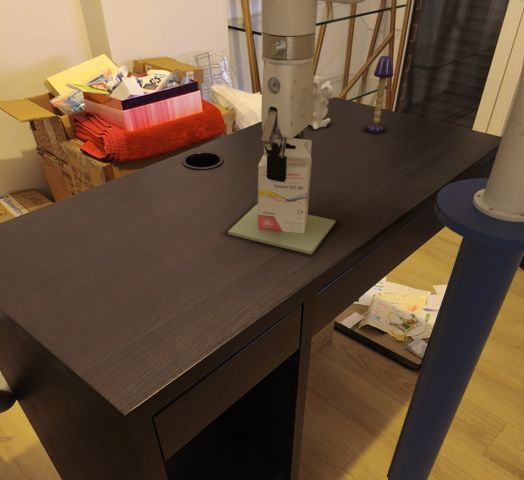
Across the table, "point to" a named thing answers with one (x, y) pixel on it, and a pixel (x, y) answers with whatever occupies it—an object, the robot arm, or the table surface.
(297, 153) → the ink cartridge box
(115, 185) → the table surface
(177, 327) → the table surface
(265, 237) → the mat
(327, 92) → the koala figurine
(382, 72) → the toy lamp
